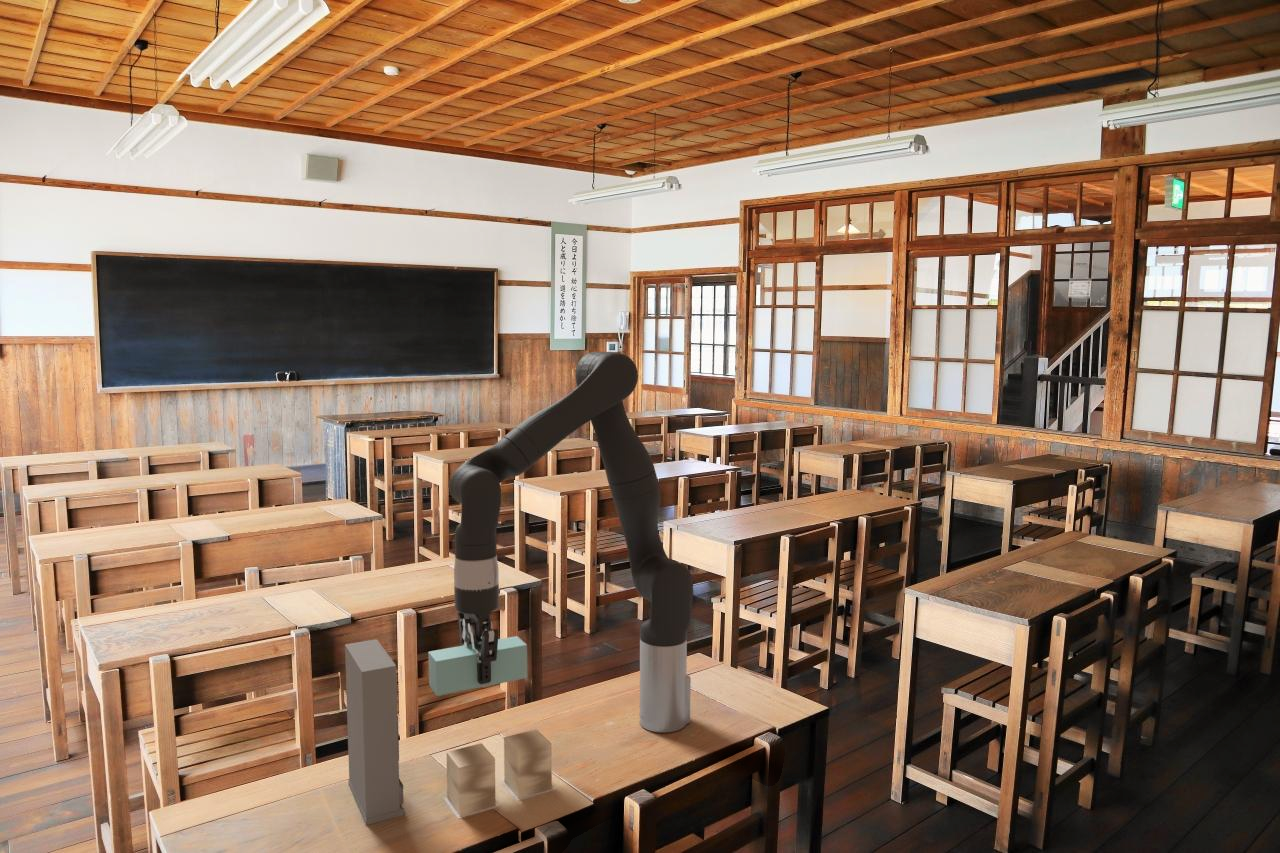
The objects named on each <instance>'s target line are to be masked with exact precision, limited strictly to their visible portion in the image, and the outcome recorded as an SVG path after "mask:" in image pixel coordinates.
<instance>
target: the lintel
mask: <svg viewBox="0 0 1280 853" xmlns="http://www.w3.org/2000/svg"><path fill="white" fill-rule="evenodd" d="M477 644H482V641H481V642H480V643H477ZM486 655H487V652H486ZM523 679H528V645H527V643H526V642H524V641H523V640H522V639H521V638H520V637H519V636H517V635H515V636H510V637H504V638H498V647H497V660H496V661H492V662H491V681H490V682H489V683H485V684H479V683H478V681H477V657H476V651H475V650H473V648H472V644H469V645H459V646H454V647H453V646H452V647H447V648H442V649H436V650H431V651H428V682H429V683H428V684H429V687H430V689H431V690H432V692H433V693H434V695H435V696H436V697H440V696H446V695H450V694H455V693H459V692H464V691H469V690H476V689H479V688H483V687H490V686H494V685H499V684H500V685H501V684H503V683H508V682H515V681H519V680H523Z"/></svg>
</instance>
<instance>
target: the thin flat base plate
mask: <svg viewBox="0 0 1280 853" xmlns="http://www.w3.org/2000/svg"><path fill="white" fill-rule="evenodd" d="M500 783H501V785H502V786H503V787H504V788H505V789H506V791H508V793H509V794H510V795H511V796H512V797H513V799H514V800H515V801H516V802H520V801H522V800H525V799H530V798H532V797H536V796H539V795H542V794H546V793H549V792H552V791H556V790H557V789H556V788H555V787H554V786H553V785H552V789H549V790H546V791H543V792H539V793H536V794H533V795H529V796H526V797H523V798H519V799H518V797H517V796H516V795H515V794H514V793H513V792H512V791H511V789H510V788H509V787H508V786H507V785H506V784H505V780H503V781H500ZM443 800H444V801H445V803H446V805H447V806H448V807H449V808H450V810H451V811H452V813H453V815H454V816H455V818H457V820H459V819H462V818H467V817H469V816H472V815H476V814H479V813H482V812H486V811H490V810H493V809H496V808H499V807H500V804H498V802H497V801H496V806H492V807H489V808H486V809H482V810H479V811H476V812H472V813H469V814H466V815H462V816H459V814H458V813H457V812H456V810H455V809H454V807H453V806H452V805H451V803H450V802H449V800H448V799H447V796H446V797H443Z"/></svg>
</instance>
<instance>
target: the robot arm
mask: <svg viewBox="0 0 1280 853" xmlns="http://www.w3.org/2000/svg"><path fill="white" fill-rule="evenodd" d="M638 381H639V371H638V368H637V365H636V363H635V362H634V361H633V359H632V358H631V357H630V356H628V355H626V354H624V353H622V352H621V353H620V352H617V351H592V352H589V353H587V354H585V355H583V356H581V359H580V360H579V361H578V363H577V366H576V368H575V382H576V383H575V384H576V387H575V389H573V390H572V391H571V392H569V393H568V394H567V395H565V396H564V397H562V398H560V399H559V400H556V402H553V404H549V405H548V406H547V407H544V408H543V409H541V410H539V411H537V412H535V413H534V414H532V415H531V416H529V417H528V418H526V419H524V420H523V421H522V422H520V423H518V425H516V426H515V427H514V428H512V429H511V430H510V431H508V433H507V434H505V435H503V437H501V439H499V440H498V441H497V442H496V443H495V444H493V445H492V446H490V447H488V448H486V449H484V450H482V451H481V452H480V453H477V454H476V455H474V456H473V457H471V458H468V460H466V461H465V462H463V463H462V464H461V465H459V467H458V468H456V469H455V471H454V472H453V474H452V475H451V477H450V478H449V481H448V490H449V494H450V496H451V497H452V498H453V500H455V501H456V502H457V503H459V505H460V506H461V515H460V516H461V517H460V523H459V524H458V525H457V526H456V528H455V531H454V567H453V580H454V582H453V584H454V585H453V586H454V587H453V588H454V590H453V592H454V595H453V596H454V609H455V611H457V620H458V633H459V642H460V643H459V644H460V646H463V645H469V644H472V648H473V650H475V651H476V657H477V681H478V683H479V684H485V683H489V682H490V681H491V662H492V661H496V660H497V647H498V639H499V632H500V631H499V629H498V628H494V629H493V622H492V619H491V616H490V615H491V613H492V612H493V611H496V610H497V609H498V608H499V606H500V588H499V587H500V580H499V578H500V577H499V576H500V575H499V563H498V554H497V550H498V548H497V547H498V546H497V527H498V523H499V517H500V512H501V506H502V488H501V483H502V482H504V481H505V480H507V479H508V478H512V477H518V476H520V475H522V474H523V473H525V472H526V471H527V470H529V469H531V467H533V465H535V464H536V463H537V462H538V461H539V460H541V459H542V458H543V457H544V456H545V455H546V454H547V453H550V451H551V450H552V449H553V448H555V447H556V446H557V445H558V444H560V443H561V442H562V441H563V440H565V439H566V438H567V437H568V436H570V435H571V434H573V433H574V432H575V431H576V430H578V429H579V428H581V427H583V426H584V425H586V424H587V423H588V422H590V423H591V425H592V429H593V431H594V435H595V437H596V441H597V442H596V443H597V446H598V449H599V450H598V451H599V453H600V456H601V459H602V460H601V461H602V463H603V467H604V470H605V475H606V479H607V482H608V486H609V487H608V488H609V489H610V493H611V496H612V501H613V504H614V506H615V509H616V513H617V516H618V519H619V524H620V526H621V530H622V533H623V535H624V539H625V544H626V549H627V555H628V560H629V567H630V571H631V578H632V582H633V586H634V588H635V590H636V591H637V594H639V596H641V598H642V599H645V600H646V601H648V602H650V617H649V619H646V620H644V621H643V622H642V623H641V624H640V628H639V724H640V726H641V727H642V728H644V729H645V730H647V731H650V732H653V733H654V732H655V733H663V734H664V733H665V734H666V733H673V732H676V731H680V730H682V729H683V728H685V727H686V726H687V725H688V724H691V693H692V692H691V690H692V689H691V688H692V686H691V685H692V683H691V682H692V679H691V676H690V675H689V674H688V673H687V668H688V667H687V664H688V663H687V658H688V656H687V655H688V654H687V651H688V650H687V649H688V648H687V647H688V646H687V644H688V642H687V639H688V631H689V629H690V626H691V623H692V612H693V611H692V610H693V594H694V586H693V583H694V582H693V577H692V574H691V572H690V569H689V568H688V567H687V566H686V565H684V564H683V563H681V562H679V561H677V560H675V559H671V558H669V557H668V555H667V554H666V551H665V549H664V545H663V543H662V540H661V537H660V533H659V527H658V520H659V515H660V514H659V513H660V509H661V508H660V507H661V498H662V496H661V489H660V484H659V480H658V475H657V472H656V469H655V465H654V462H653V460H652V457H651V454H649V451H648V450H647V448H646V446H645V444H644V442H643V441H642V440H641V438H640V437H639V435H638V434H637V432H636V431H635V429H634V427H633V426H632V423H631V422H630V420H629V418H628V415H627V412H626V408H625V406H624V400H625V399H627V398H628V397H629V396H631V395H632V394H633V393H634V390H635V389H636V387H637V384H638ZM480 642H482V644H477V643H480ZM486 652H487V655H486Z"/></svg>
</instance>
